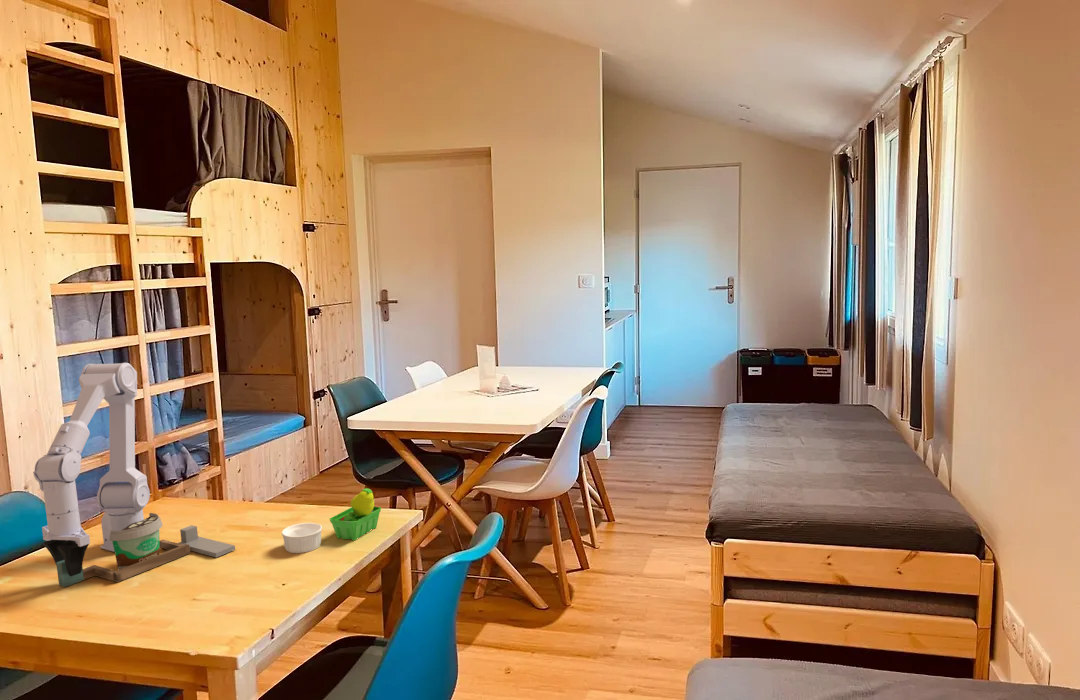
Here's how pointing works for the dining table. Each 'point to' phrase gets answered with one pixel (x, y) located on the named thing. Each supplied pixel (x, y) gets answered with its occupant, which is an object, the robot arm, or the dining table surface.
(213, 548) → the grey l-shaped block
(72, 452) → the robot arm
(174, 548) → the walnut sled
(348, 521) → the fruit basket
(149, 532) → the food container
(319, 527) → the ramekin
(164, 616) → the dining table surface
